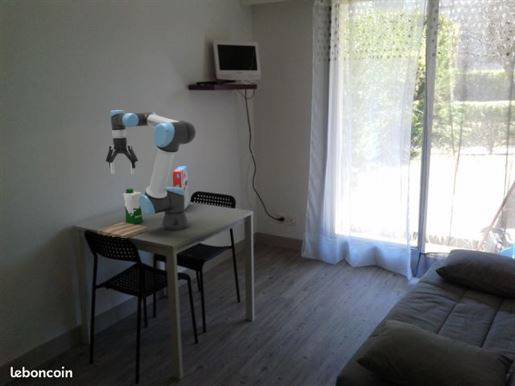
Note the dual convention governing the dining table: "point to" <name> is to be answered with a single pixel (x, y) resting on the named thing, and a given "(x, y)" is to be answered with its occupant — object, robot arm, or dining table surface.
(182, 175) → the game box
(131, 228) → the wooden cutting board
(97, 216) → the dining table surface
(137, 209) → the soya milk
